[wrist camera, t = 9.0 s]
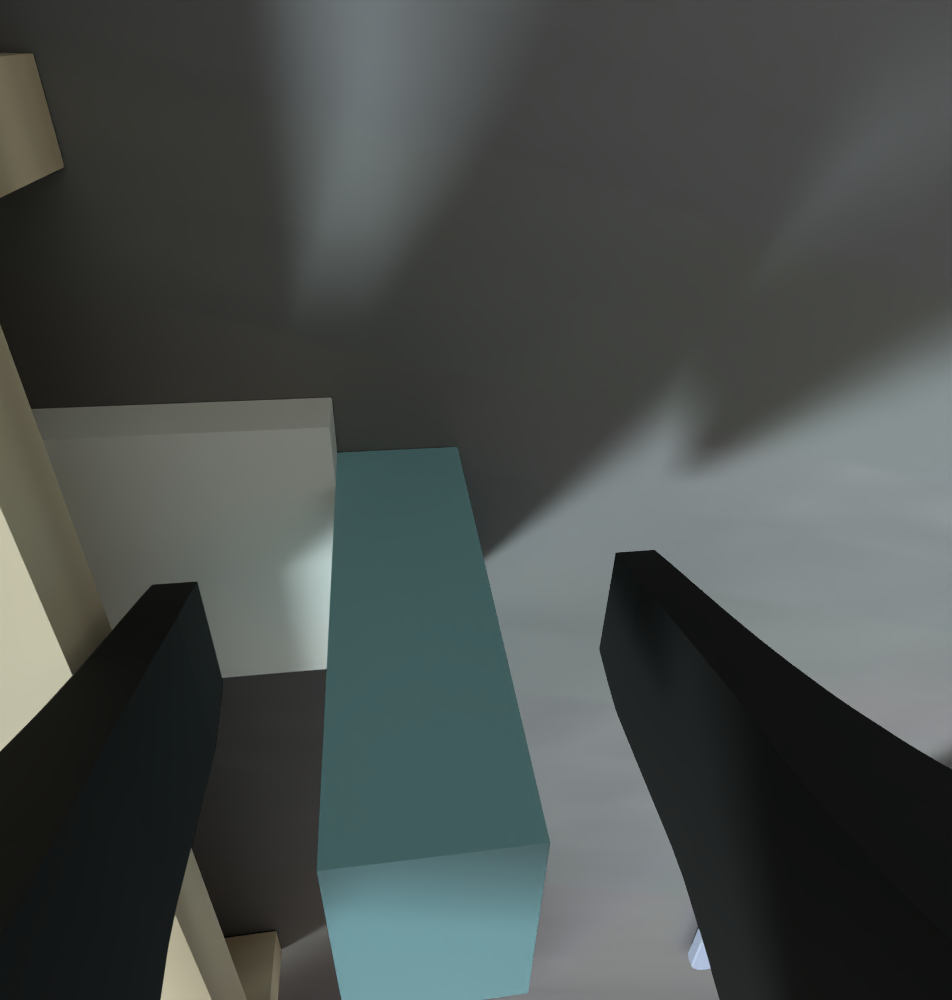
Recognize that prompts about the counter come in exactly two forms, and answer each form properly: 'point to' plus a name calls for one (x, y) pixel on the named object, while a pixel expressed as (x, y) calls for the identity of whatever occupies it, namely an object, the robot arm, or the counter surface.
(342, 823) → the scraper
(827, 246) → the counter surface
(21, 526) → the wooden bridge
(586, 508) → the counter surface
